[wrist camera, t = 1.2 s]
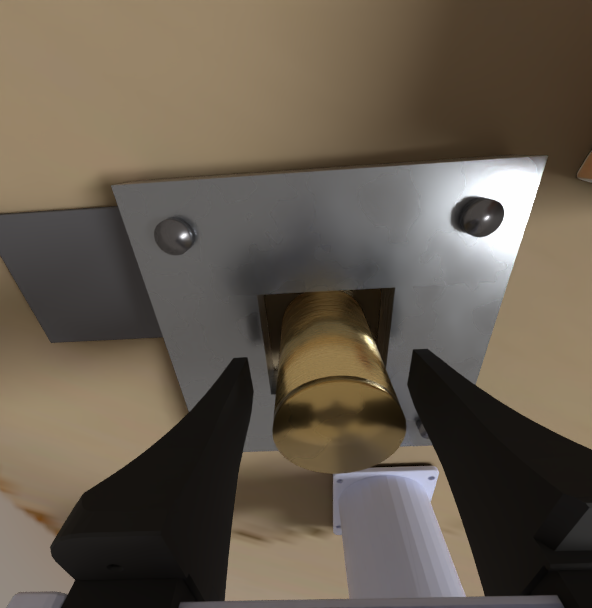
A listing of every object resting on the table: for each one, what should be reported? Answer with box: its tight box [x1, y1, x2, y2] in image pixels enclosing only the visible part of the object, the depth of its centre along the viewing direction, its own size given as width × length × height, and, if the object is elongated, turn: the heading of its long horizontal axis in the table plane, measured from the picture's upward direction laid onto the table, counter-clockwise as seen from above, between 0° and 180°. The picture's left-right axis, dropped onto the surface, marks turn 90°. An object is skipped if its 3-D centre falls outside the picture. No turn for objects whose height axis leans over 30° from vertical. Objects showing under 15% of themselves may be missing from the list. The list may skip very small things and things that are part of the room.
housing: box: [111, 155, 548, 452], centre depth 15 cm, size 16×16×2 cm
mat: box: [0, 206, 163, 343], centre depth 15 cm, size 7×7×1 cm
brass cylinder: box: [272, 290, 407, 474], centre depth 13 cm, size 5×5×7 cm
